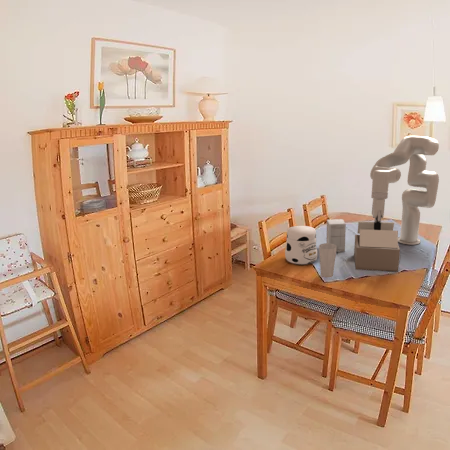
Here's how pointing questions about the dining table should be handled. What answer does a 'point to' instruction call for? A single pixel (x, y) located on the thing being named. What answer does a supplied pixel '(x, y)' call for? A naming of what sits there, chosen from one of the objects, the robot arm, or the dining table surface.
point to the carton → (376, 257)
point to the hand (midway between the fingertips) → (377, 229)
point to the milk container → (301, 245)
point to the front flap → (379, 238)
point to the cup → (327, 259)
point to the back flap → (371, 226)
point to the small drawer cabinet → (336, 233)
